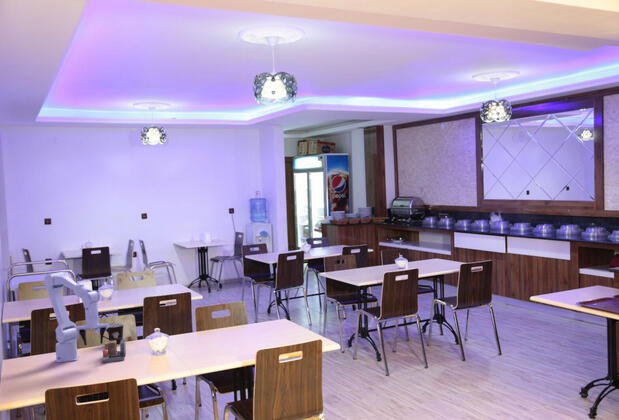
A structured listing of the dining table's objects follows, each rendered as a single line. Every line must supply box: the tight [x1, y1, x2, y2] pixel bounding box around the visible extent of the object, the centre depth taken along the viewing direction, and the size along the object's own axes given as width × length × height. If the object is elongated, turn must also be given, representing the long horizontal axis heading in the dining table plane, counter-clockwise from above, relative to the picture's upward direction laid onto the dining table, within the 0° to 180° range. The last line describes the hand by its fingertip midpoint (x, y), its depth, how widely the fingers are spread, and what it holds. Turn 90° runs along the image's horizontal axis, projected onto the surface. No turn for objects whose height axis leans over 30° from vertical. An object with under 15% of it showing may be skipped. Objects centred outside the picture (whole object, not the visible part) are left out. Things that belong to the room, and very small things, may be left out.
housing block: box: [104, 340, 118, 355], centre depth 286 cm, size 5×5×6 cm
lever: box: [101, 349, 109, 360], centre depth 277 cm, size 3×3×4 cm
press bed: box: [101, 338, 127, 364], centre depth 283 cm, size 10×14×7 cm
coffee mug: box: [103, 322, 124, 346], centre depth 311 cm, size 12×9×10 cm
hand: (93, 344), depth 275 cm, fingers open, 7 cm apart
